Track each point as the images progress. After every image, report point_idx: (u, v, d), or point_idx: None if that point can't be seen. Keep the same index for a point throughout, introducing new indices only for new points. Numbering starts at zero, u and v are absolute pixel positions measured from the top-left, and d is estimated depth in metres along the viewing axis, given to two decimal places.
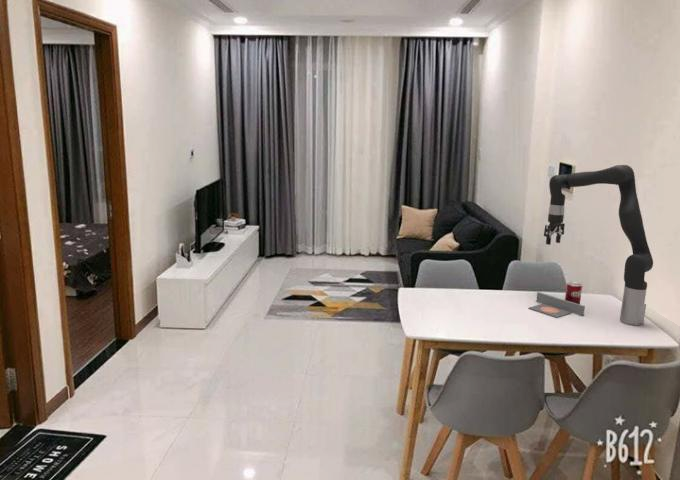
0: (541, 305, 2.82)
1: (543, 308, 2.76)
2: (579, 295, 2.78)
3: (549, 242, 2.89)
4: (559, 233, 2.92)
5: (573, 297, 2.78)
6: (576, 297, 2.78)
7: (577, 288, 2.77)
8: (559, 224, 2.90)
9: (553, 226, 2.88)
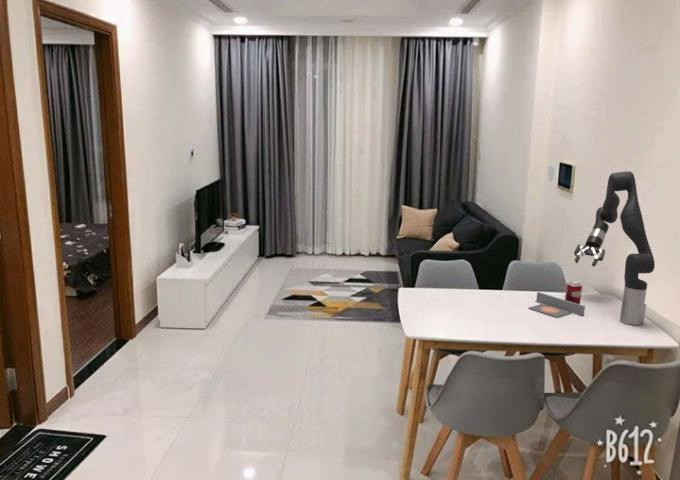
0: (541, 305, 2.82)
1: (543, 308, 2.76)
2: (579, 295, 2.78)
3: (576, 259, 2.90)
4: (594, 255, 2.86)
5: (573, 297, 2.78)
6: (577, 297, 2.78)
7: (577, 288, 2.77)
8: (595, 247, 2.88)
9: (585, 247, 2.92)
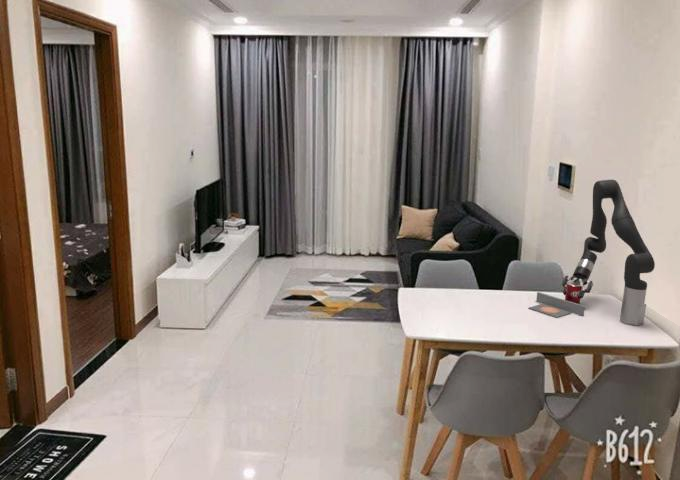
0: (541, 305, 2.82)
1: (543, 308, 2.76)
2: None
3: (564, 291, 2.83)
4: None
5: (573, 297, 2.78)
6: (576, 297, 2.78)
7: (577, 288, 2.77)
8: (583, 278, 2.82)
9: (572, 278, 2.85)
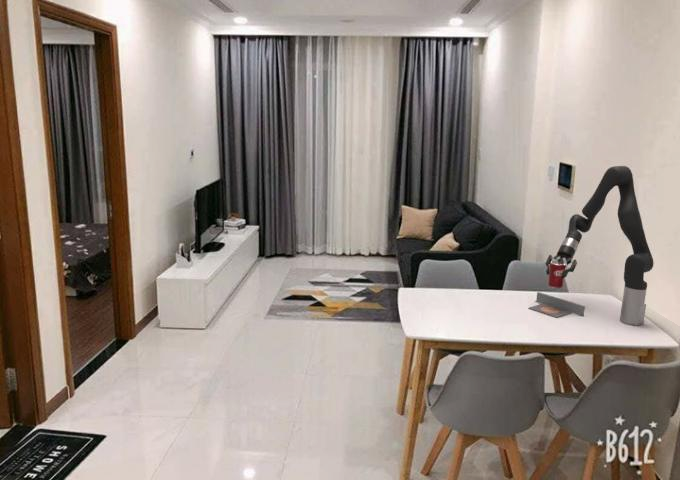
0: (541, 305, 2.82)
1: (543, 308, 2.76)
2: None
3: (547, 270, 2.75)
4: None
5: (556, 277, 2.70)
6: (560, 276, 2.69)
7: (560, 267, 2.68)
8: (567, 257, 2.73)
9: (556, 257, 2.77)
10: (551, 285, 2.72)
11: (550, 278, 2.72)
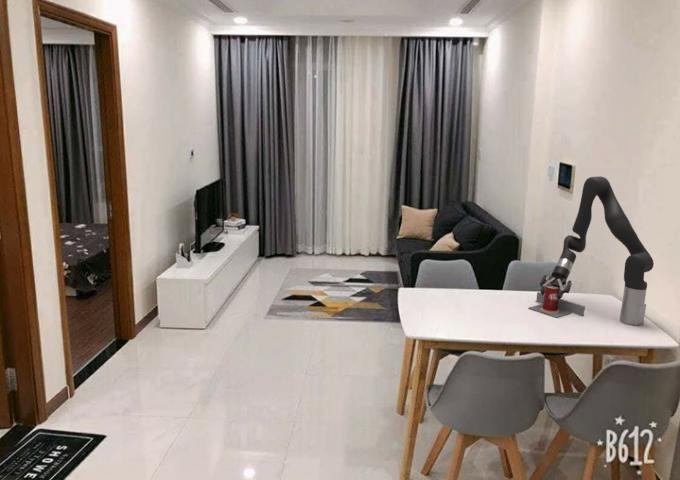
0: (541, 305, 2.82)
1: None
2: (557, 297, 2.71)
3: (541, 290, 2.76)
4: (560, 287, 2.71)
5: (551, 300, 2.71)
6: (554, 299, 2.70)
7: (555, 290, 2.70)
8: (562, 278, 2.74)
9: (551, 277, 2.77)
10: (546, 308, 2.73)
11: (545, 301, 2.73)
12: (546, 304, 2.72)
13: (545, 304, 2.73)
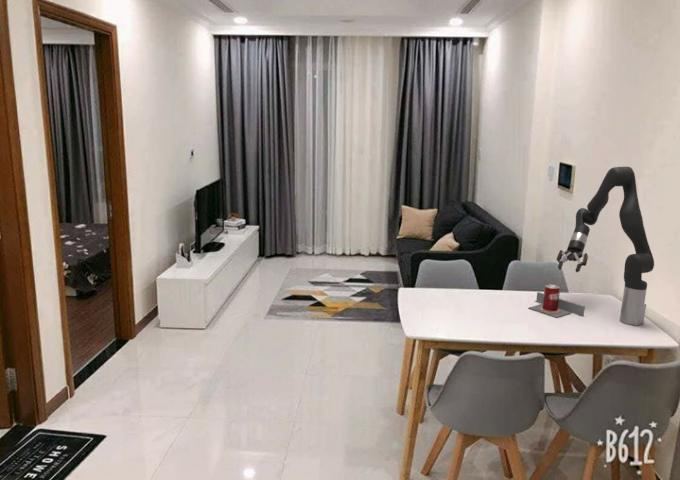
0: (541, 305, 2.82)
1: None
2: (557, 298, 2.71)
3: (559, 265, 2.82)
4: (577, 261, 2.78)
5: (551, 300, 2.71)
6: (554, 300, 2.70)
7: (555, 290, 2.69)
8: (578, 252, 2.80)
9: (567, 252, 2.83)
10: (546, 308, 2.73)
11: (545, 301, 2.73)
12: (546, 304, 2.72)
13: (545, 304, 2.73)
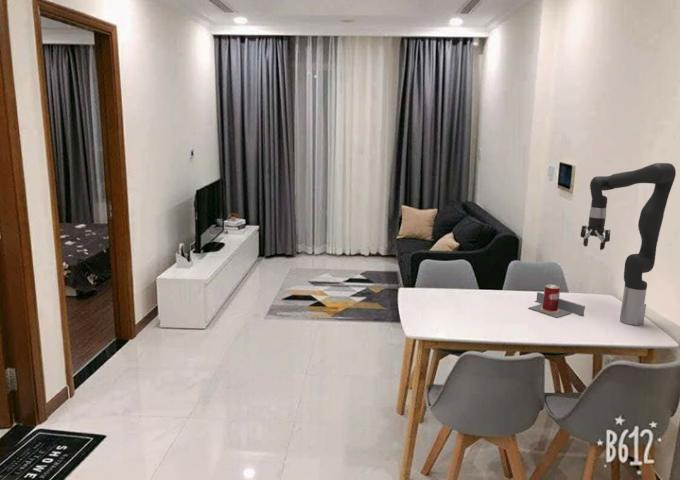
0: (541, 305, 2.82)
1: None
2: (557, 298, 2.71)
3: (584, 243, 2.83)
4: (600, 239, 2.76)
5: (551, 300, 2.71)
6: (554, 300, 2.70)
7: (555, 290, 2.69)
8: (599, 229, 2.76)
9: (589, 228, 2.80)
10: (546, 308, 2.73)
11: (545, 301, 2.73)
12: (546, 304, 2.72)
13: (545, 304, 2.73)
